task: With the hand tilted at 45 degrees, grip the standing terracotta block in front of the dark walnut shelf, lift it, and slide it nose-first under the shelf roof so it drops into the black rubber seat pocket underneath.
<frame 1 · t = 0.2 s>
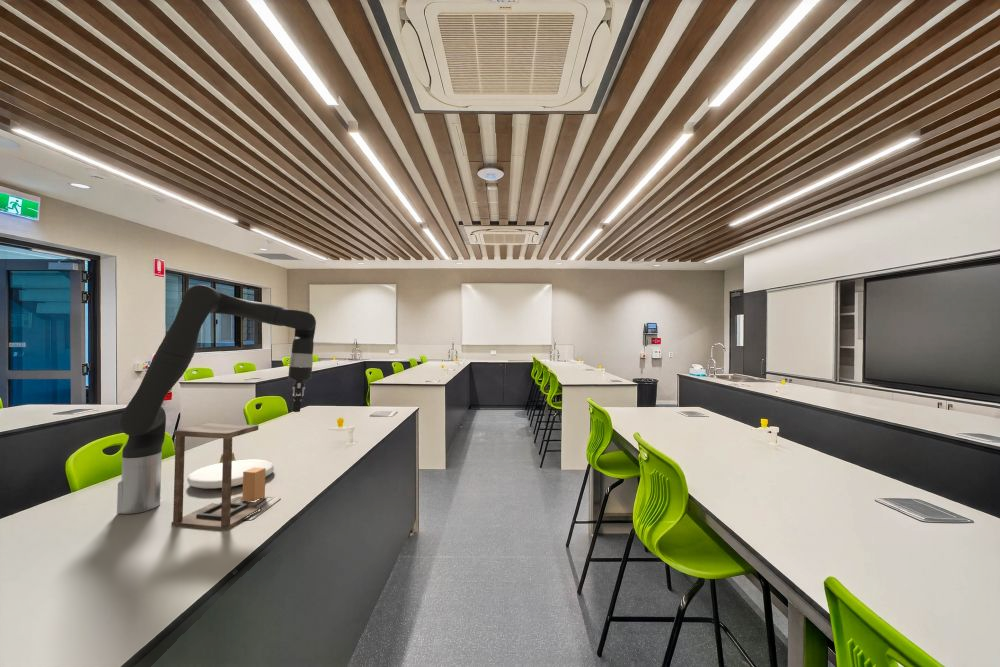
hand: (296, 410, 137), 29 cm above the lab bench, tool pointing down, fingers open, 8 cm apart
hand bell: (227, 466, 161), on the lab bench
terracotta block: (253, 499, 128), on the lab bench
walnut shelf: (222, 515, 116), on the lab bench
plate: (232, 481, 145), on the lab bench
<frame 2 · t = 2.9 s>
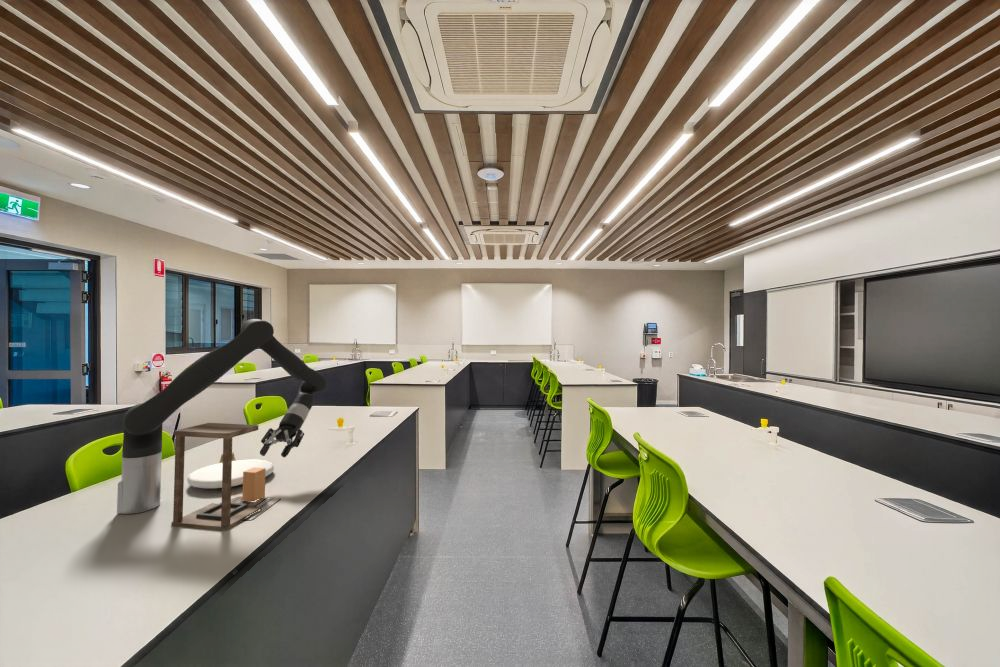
hand: (272, 455, 136), 12 cm above the lab bench, tool tilted 45°, fingers open, 8 cm apart
nothing on the lab bench moved.
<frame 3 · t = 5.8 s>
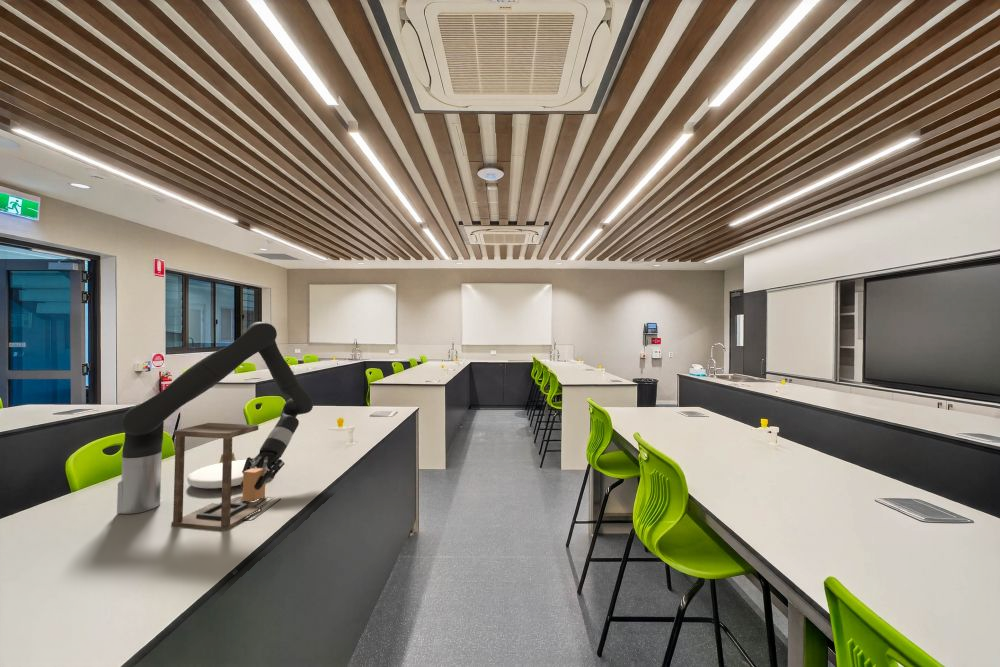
hand: (249, 487, 126), 5 cm above the lab bench, tool tilted 45°, fingers closed on terracotta block, 4 cm apart
terracotta block: (253, 499, 128), on the lab bench, touching gripper
everything else where it was.
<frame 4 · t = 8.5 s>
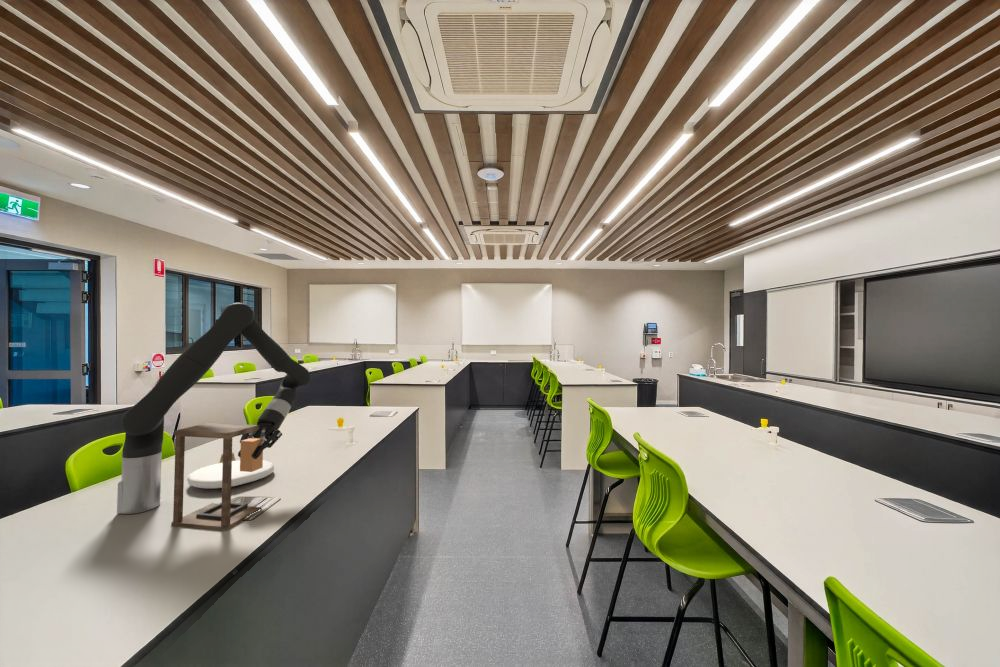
hand: (247, 457, 125), 15 cm above the lab bench, tool tilted 45°, fingers closed on terracotta block, 4 cm apart
terracotta block: (251, 469, 127), point 11 cm above the lab bench, touching gripper
everything else where it was.
when the fingers open (7 cm above the lab bench, at t = 11.2 s): terracotta block drops 1 cm, resting on walnut shelf.
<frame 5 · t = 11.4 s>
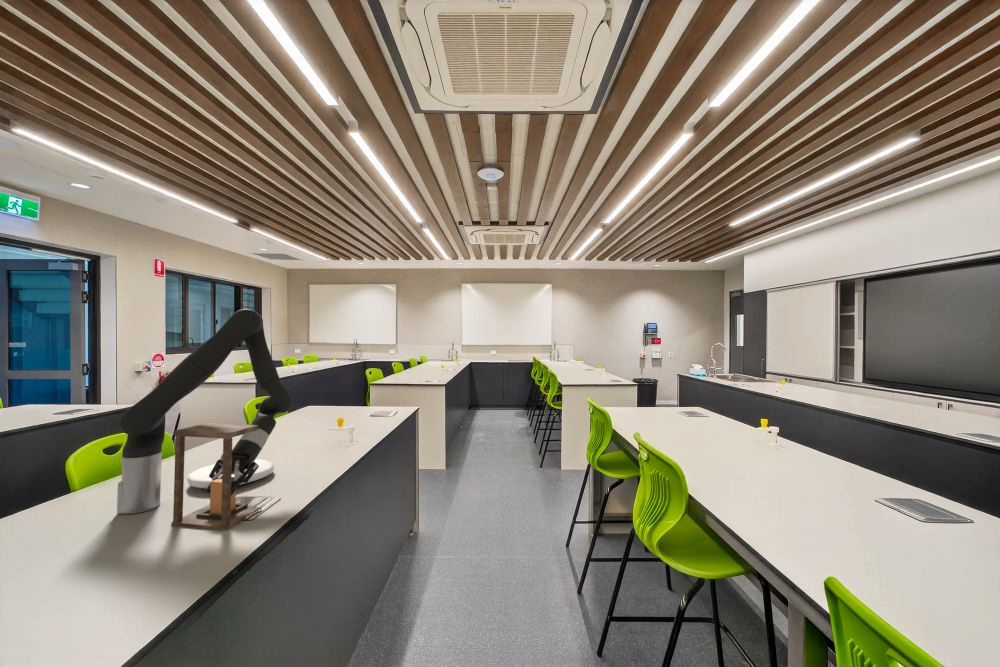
hand: (218, 493, 114), 7 cm above the lab bench, tool tilted 45°, fingers open, 6 cm apart
terracotta block: (222, 512, 116), point 1 cm above the lab bench, touching walnut shelf
everything else where it was.
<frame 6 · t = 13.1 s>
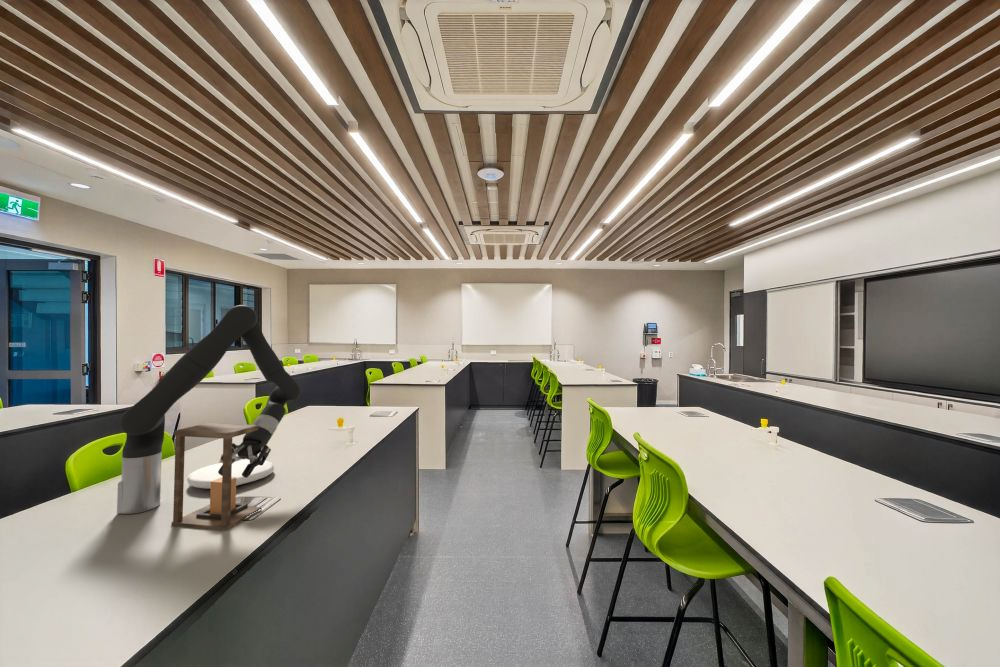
hand: (232, 475, 119), 11 cm above the lab bench, tool tilted 45°, fingers open, 8 cm apart
nothing on the lab bench moved.
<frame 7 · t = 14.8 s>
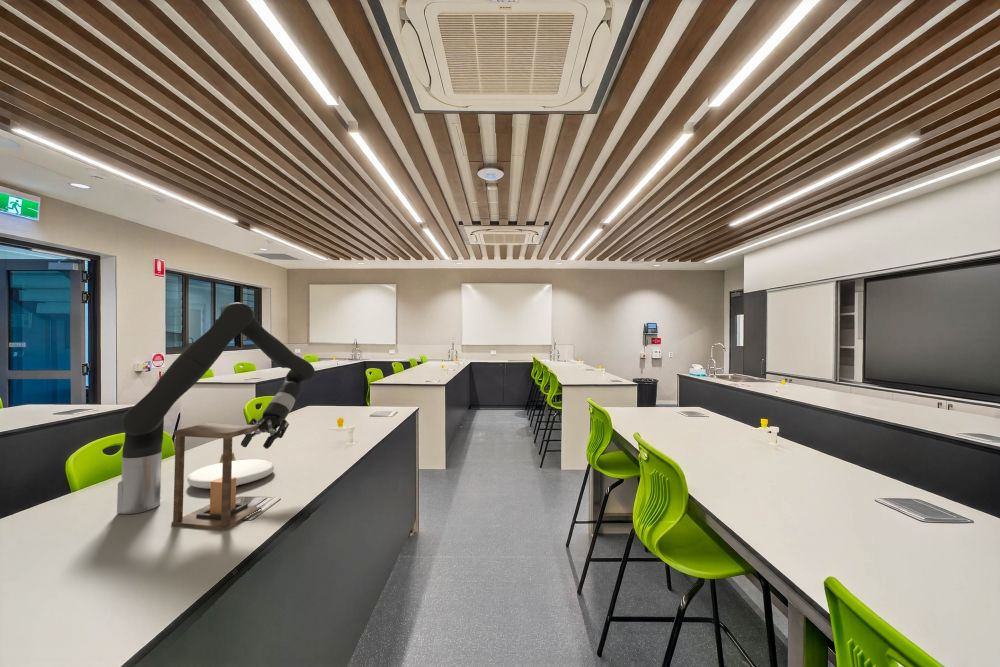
hand: (254, 446, 128), 18 cm above the lab bench, tool tilted 45°, fingers open, 8 cm apart
nothing on the lab bench moved.
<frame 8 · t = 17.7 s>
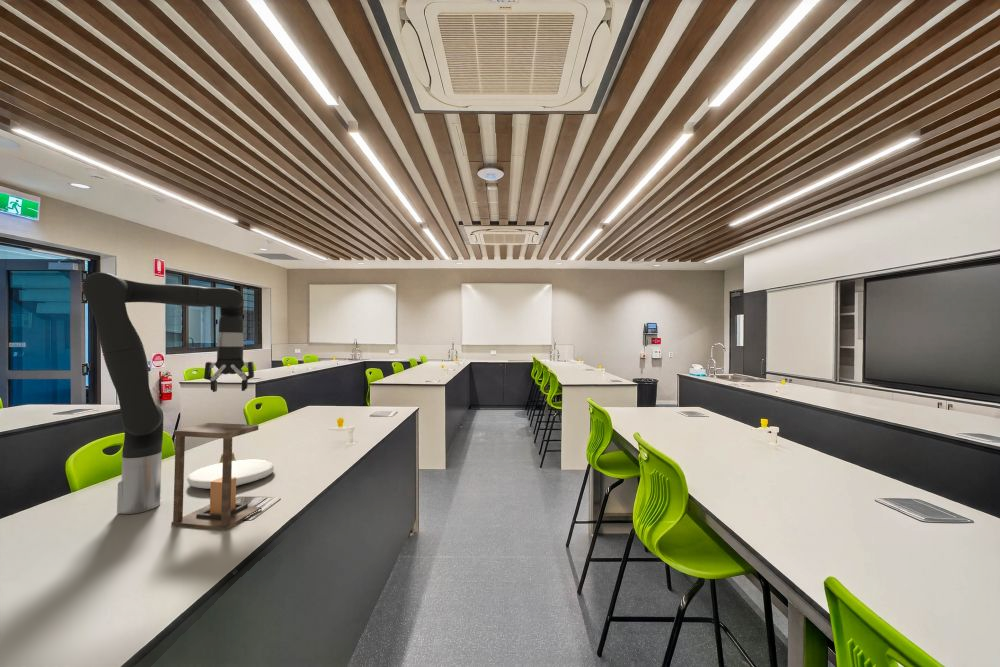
hand: (229, 391, 133), 36 cm above the lab bench, tool pointing down, fingers open, 8 cm apart
nothing on the lab bench moved.
at the end: terracotta block 0.1 cm off-centre on the walnut shelf, point 1.0 cm above the walnut shelf's base; terracotta block tilted 0°; the gripper is holding nothing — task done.
